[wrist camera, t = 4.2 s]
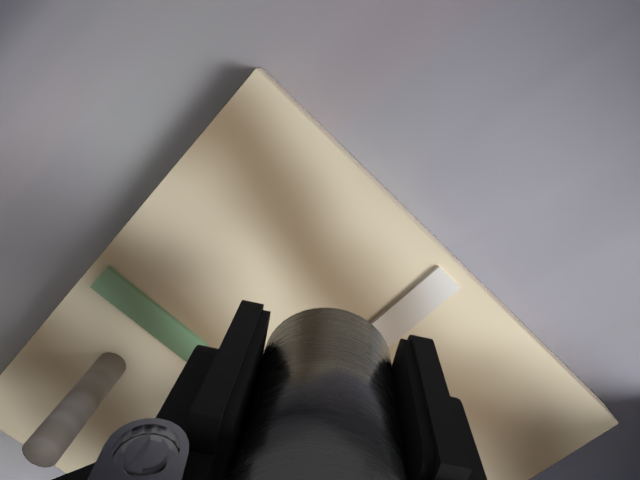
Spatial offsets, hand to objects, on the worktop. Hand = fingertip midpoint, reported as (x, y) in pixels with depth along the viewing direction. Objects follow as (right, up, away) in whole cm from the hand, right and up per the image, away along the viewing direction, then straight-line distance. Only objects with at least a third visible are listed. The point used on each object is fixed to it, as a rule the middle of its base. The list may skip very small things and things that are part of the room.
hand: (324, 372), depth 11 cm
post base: (-2, -4, +10) cm, 11 cm away
